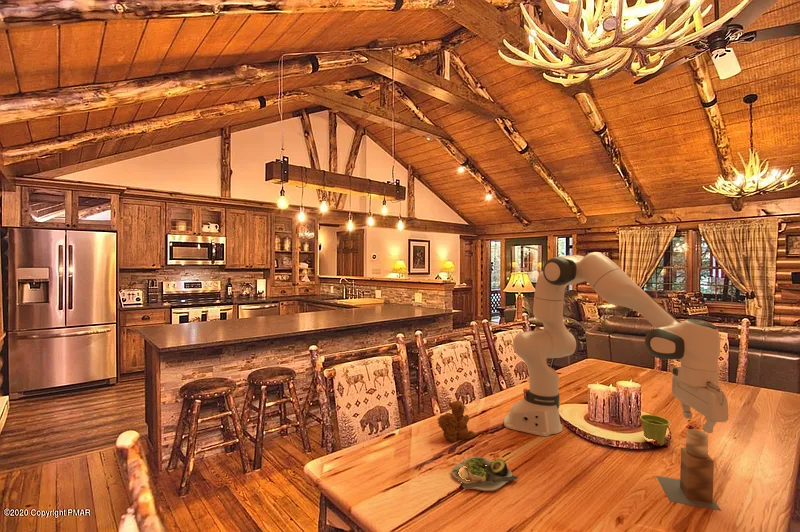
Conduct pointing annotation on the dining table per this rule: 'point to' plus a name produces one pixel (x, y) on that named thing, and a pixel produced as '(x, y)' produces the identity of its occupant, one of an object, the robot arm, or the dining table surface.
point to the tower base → (696, 488)
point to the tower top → (697, 466)
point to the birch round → (697, 443)
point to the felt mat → (681, 494)
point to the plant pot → (655, 427)
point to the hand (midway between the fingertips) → (697, 424)
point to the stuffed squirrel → (455, 423)
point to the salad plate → (484, 473)
